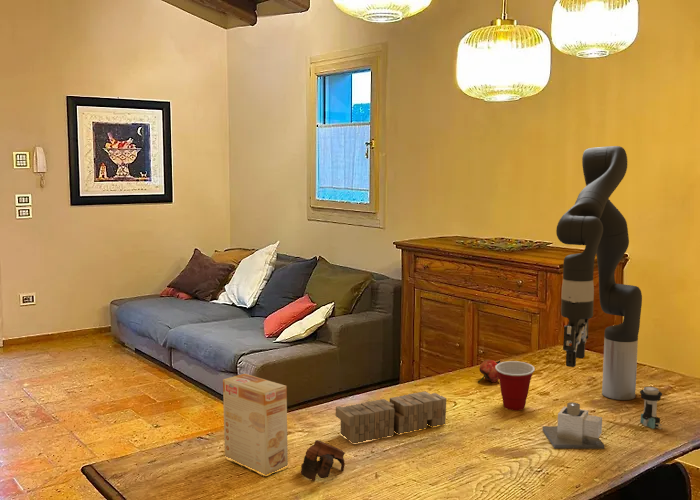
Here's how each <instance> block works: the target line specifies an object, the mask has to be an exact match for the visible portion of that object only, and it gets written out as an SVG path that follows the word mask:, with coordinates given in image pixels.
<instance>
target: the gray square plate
mask: <svg viewBox="0 0 700 500" xmlns="http://www.w3.org/2000/svg"><path fill="white" fill-rule="evenodd" d="M566 405H567V406H566V407H567V414H569V415H575V416H580V409H581V404H580V403H578V402H570V401H569V402H567V403H566ZM557 428H558V425H556V426H554V425H553V426H552V425H551V426H549V425H548V426H546V425H545V426H543V425H542V431H543V433H544V435H545V436H546V438H547V439H548V441H549V442H550V444H551V446H552V447H553V449H574V450H576V449H577V450H579V449H580V450H581V449H583V450H584V449H585V450H587V449H589V450H601V449H602V450H604V449H605V444H604V443H603V441H602V440H601V439H600V437H599V438H594V437H589V436H585V438H584V439H583V441H577V440H571V439H566V438H561V437H557Z"/></svg>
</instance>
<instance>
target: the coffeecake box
mask: <svg viewBox="0 0 700 500" xmlns="http://www.w3.org/2000/svg"><path fill="white" fill-rule="evenodd" d="M287 387H288V385H284V384H282V383H278V382H275V381H271V380H268V379H265V378H261V377H257V376H254V375H251V374H248V373H242V374H241V373H240V374H238V375H234V376H230V377H227V378H222V394H223V395H222V397H223V403H222V404H223V429H224V430H223V432H224V433H223V434H224V436H223V437H224V439H223V440H224V457H225V456H226V457H228V458H231V459H233V460H235V461H237V462H239V463H241V464H243V465H246V466H248V467H250V468H252V469H255V470H257V471H259V472H261V473H263V474H265V475H267V474H269V473H272V472H275V471H277V470H279V469H281V468H283V467H285V466H287V465H288V464H289V458H288V457H289V456H288V454H289V453H288V397H287V396H288V395H287V391H288V390H287ZM288 466H289V465H288Z"/></svg>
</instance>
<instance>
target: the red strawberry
mask: <svg viewBox="0 0 700 500" xmlns="http://www.w3.org/2000/svg"><path fill="white" fill-rule="evenodd" d="M498 363H501V360H498V361H495V360H493V359H486V360H484V361H482V362H481V364H480V365H479V372H480V373H481V374H482V375H483V376H482V377H481V378H480V379H479V380H478V381H477V383H480V382H481V381H482V380H483V379H485V380H486V381H490V382H491V383H496V382H498V381H500V380H499V376H498V372H497V370H496V367H495V366H496V365H497V364H498Z"/></svg>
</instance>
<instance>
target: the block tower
mask: <svg viewBox="0 0 700 500" xmlns="http://www.w3.org/2000/svg"><path fill="white" fill-rule="evenodd" d="M446 412H447V397H444V396H443V395H440V394H438V393H436V392H433V393H429V392H427V391H420V392H419V391H418V392H413V393H408V394H404V395H399V396H394V397H393V396H392V397H389V400H387V399H385V398H381V399H375V400H371V401H365V402H361V403H356V404H351V405H346V406H341V405H339V406H336V407H335V417H336V418H337V419H339V420H340V431H339V432H340V433H341V434H342V435H343V436H345V437H346V438H347V439H348V440H350V441H351V442H352V443H358V442H363V441H366V440H372V439H378V438H382V437H387V436H392V435H395V434H396V433H398V434H400V433H404V432H410V431H414V430H419V429H424V428H427V429H428V426H427V424H428V425H430V426H432V427H433V426H437V425H443V424H445V425H446V416H447V415H446V414H447V413H446ZM394 431H395V432H396V433H394ZM351 442H350V443H351ZM352 443H351V444H352Z"/></svg>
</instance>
